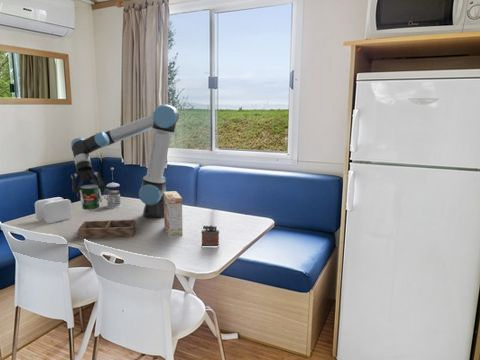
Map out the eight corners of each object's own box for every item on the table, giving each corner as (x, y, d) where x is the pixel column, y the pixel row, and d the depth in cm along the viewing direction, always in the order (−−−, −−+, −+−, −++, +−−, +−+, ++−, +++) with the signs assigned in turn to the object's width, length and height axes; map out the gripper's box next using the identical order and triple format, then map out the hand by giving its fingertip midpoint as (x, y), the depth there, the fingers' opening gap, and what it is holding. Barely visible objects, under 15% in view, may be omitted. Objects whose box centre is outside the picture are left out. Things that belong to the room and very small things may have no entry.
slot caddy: (135, 227, 188) (135, 219, 187) (132, 236, 175) (132, 227, 174) (85, 229, 183) (84, 221, 183) (78, 238, 171) (77, 229, 170)
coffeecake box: (163, 227, 190) (163, 191, 186) (177, 226, 192) (176, 190, 188) (168, 236, 176) (167, 198, 172) (183, 235, 178) (182, 197, 174)
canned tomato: (84, 210, 173) (82, 188, 171) (80, 206, 180) (79, 185, 177) (101, 208, 178) (99, 186, 175) (97, 204, 184) (96, 183, 182)
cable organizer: (44, 225, 189) (42, 204, 186) (35, 221, 195) (33, 200, 193) (72, 219, 200) (70, 198, 198) (63, 215, 207) (61, 195, 204)
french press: (125, 205, 229) (123, 167, 224) (110, 209, 219) (108, 169, 214) (115, 203, 234) (113, 165, 229) (100, 207, 224) (97, 168, 219)
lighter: (219, 245, 166) (219, 224, 165) (218, 247, 163) (219, 227, 161) (201, 245, 166) (201, 224, 164) (201, 247, 163) (201, 226, 161)
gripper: (103, 167, 193) (112, 203, 183) (61, 170, 182) (68, 208, 172) (105, 158, 188) (114, 195, 178) (61, 161, 177) (69, 200, 167)
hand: (92, 201), depth 175 cm, fingers closed on canned tomato, 8 cm apart
